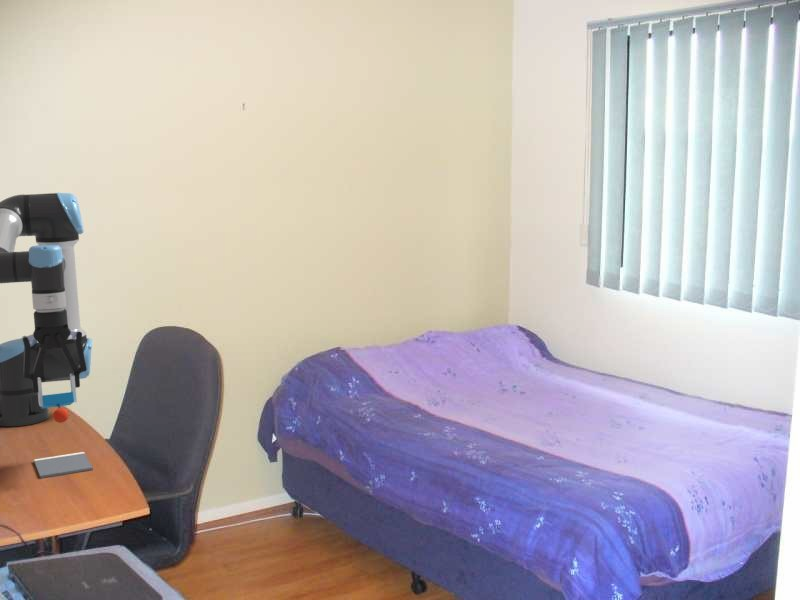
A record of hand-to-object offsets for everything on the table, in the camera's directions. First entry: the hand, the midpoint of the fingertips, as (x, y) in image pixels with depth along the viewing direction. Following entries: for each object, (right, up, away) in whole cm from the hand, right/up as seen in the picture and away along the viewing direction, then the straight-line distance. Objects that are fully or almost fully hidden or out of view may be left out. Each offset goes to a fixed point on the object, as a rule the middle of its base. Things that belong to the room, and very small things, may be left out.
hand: (57, 402), depth 239 cm
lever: (0, -3, +1) cm, 3 cm away
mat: (0, -16, +3) cm, 16 cm away
